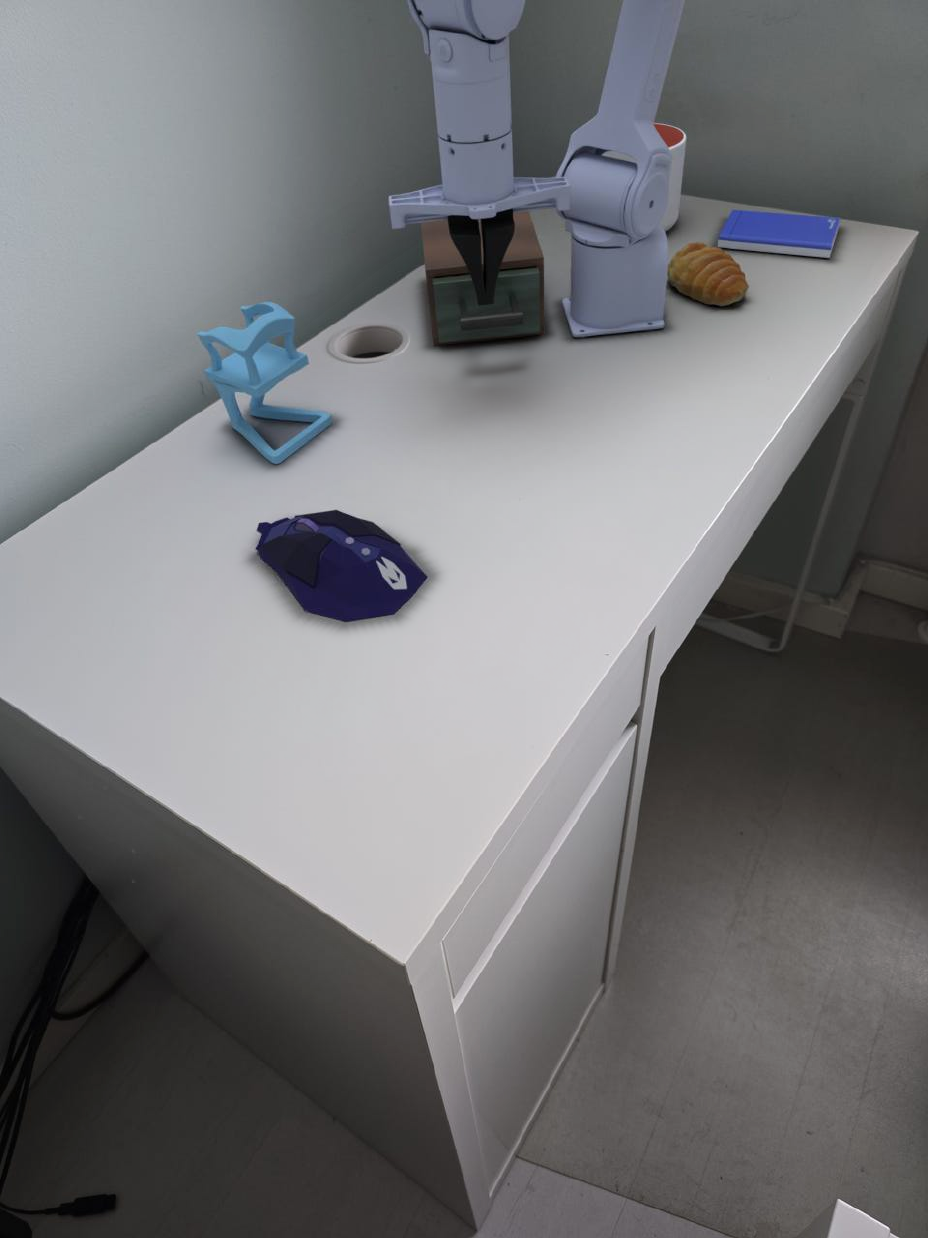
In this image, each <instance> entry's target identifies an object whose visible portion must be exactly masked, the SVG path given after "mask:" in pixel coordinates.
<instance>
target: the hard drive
mask: <svg viewBox="0 0 928 1238" xmlns="http://www.w3.org/2000/svg"><path fill="white" fill-rule="evenodd" d="M841 220H842V218H841V217H834V216H833V217H832V216H822V215H821V216H819V215H810V214H809V215H808V214H794V213H780V212H769V211H758V210H757V211H756V210H742V209H732V210H731V212H730V213H729V215H728V218H727V219H726V222H725V223H724V225H723V228H722V229H721V230H720V233H719V235H718V240H717V247H718V248H721V249H722V248H723V249H732V250H743V251H754V252H762V253H763V252H764V253H774V254H785V255H792V256H793V255H794V256H795V255H796V256H805V257H815V258H824V259H825V258H826V259H830V258H831V255H832V251H833V248H834V245H835V242H836V239H837V236H838V233H839V230H840V225H841Z"/></svg>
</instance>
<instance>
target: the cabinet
mask: <svg viewBox="0 0 928 1238" xmlns="http://www.w3.org/2000/svg"><path fill="white" fill-rule="evenodd" d="M513 219H514V222H515V231H514V235H513V238H512V240H511V242H510V244H509V246H508V248H507V251H506V253H505V255H504V258H503V261H502V264H501V267H500V270H503V269H512V268H522V267H529V268H538V270H539V274H540V332H538V333H529V334H519V335H510V336H501V337H491V338H482V339H472V340H463V341H453V342H444V343H439V337H438V328H437V318H436V308H435V298H434V289H433V278H438V276H446V275H456V274H465V273H469V271H468V269H467V266H466V264H465V262H464V260H463V258H462V257H461V255H460V253H459V251H458V249H457V248H456V246H455V245H454V243H453V241H452V238H451V236H450V232H449V226H448V220H441V221H432V222H422V223H420V229H421V239H422V249H423V262H424V270H425V280H426V289H427V299H428V308H429V316H430V317H429V318H430V327H431V336H432V345H433V347H435V346H436V347H437V346H444V345H455V344H456V345H457V344H465V343H473V342H484V341H493V340H502V339H511V338H522V337H530V336H540V335H541V336H542V335H545V257H544V254H543V251H542V248H541V244H540V242H539V238H538V235H537V232H536V229H535V226H534V225H535V224H534V223H533V220H532V216H531V213H530V211H523V212H514V213H513ZM478 222H479V230H480V235H481V255H482V272H483V244H482V231H481V219H478Z"/></svg>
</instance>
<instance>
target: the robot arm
mask: <svg viewBox="0 0 928 1238" xmlns="http://www.w3.org/2000/svg"><path fill="white" fill-rule="evenodd" d="M406 1H407V6H408V9H409V12H410V15H411V17H412V19H413V21H414V23H415V24H416V25H417V26H418V28H419V30H420V32H421V35H422V40H423V50H424V51H423V52H424V54H425V55H427V59H428V60H429V61H430V63H431V73H432V74H431V75H432V84H433V97H434V106H435V118H436V119H435V120H436V129H437V139H438V140H437V141H438V151H439V152H438V153H439V162H440V174H441V175H440V177H441V184H438V185H434V186H430V187H426V188H423V189H422V188H421V189H419V190H415V191H410V192H406V193H401V194H393V195H389V196H388V206H389V208H388V209H389V216H390V222H391V229H392V230H396V229H404V228H405V227H406V225H413V224H421V223H422V222H432V221H441V220H448V226H449V232H450V236H451V238H452V241H453V243H454V245H455V246H456V248H457V249H458V251H459V253H460V255H461V257H462V258H463V260H464V262H465V264H466V266H467V269H468V271H469V273H470V276H471V279H472V281H473V284H474V287H475V291H476V298H477V303H478V305H479V306H480V305H489V304H494V294H495V287H496V282H497V278H498V274H499V270H500V267H501V264H502V261H503V258H504V255H505V253H506V251H507V248H508V246H509V244H510V242H511V240H512V238H513V235H514V231H515V222H514V219H513V213H514V212H523V211H529V212H530V211H539V210H550V209H555V211H556V213H557V215H558V216H559V217H560V218H561V219H563V220H565V221H564V222H565V225H564V227H565V232H568V233H570V234H571V241H570V242H571V245H570V247H571V248H570V297H564V298H562V300H561V305H562V308H563V311H564V314H565V317H566V320H567V324H568V326H569V329H570V332H571V336H572V337H574V338H584V337H591V336H601V335H612V334H620V333H631V332H639V331H650V330H659V329H663V328H665V325H666V323H665V321H664V317H665V316H664V315H665V303H666V293H667V284H668V283H667V282H668V275H667V274H668V265H669V242H668V237H667V233H666V232H665V230H664V228H663V227H662V226H658V224H659V223H660V221H661V219H662V217H663V215H664V212H665V209H666V206H667V201H668V193H669V188H668V182H669V174H670V168H671V163H672V159H673V155H672V153H671V151H670V150H669V148H668V146H667V145H666V143H665V142H664V141H663V139H662V138H661V136H660V135H659V133H658V132H657V130H656V128H655V127H654V123H655V120H656V117H657V112H658V108H659V105H660V102H661V101H660V100H661V98H662V97H661V96H662V92H663V89H664V85H665V82H666V81H665V80H666V77H667V73H668V69H669V65H670V61H671V57H672V53H673V50H674V45H675V41H676V38H677V34H678V29H679V27H680V22H681V18H682V15H683V10H684V6H685V4H686V3H685V2H686V0H622V4H621V8H620V13H619V17H618V21H617V27H616V30H615V35H614V40H613V43H612V44H613V45H612V49H611V53H610V56H609V62H608V66H607V71H606V75H605V80H604V84H603V88H602V92H601V97H600V101H599V105H598V111H597V113H596V115H595V116H593V117H592V118H591V119H590V120H588V121H586V123H584V124H583V125H582V126H580V127H579V128H577V129H576V130H575V131H574V132H572V134H571V135H570V138H569V144H568V146H567V151H566V154H565V156H564V159H563V161H562V163H560V166H559V168H558V170H557V173H556V175H555V177H524V176H523V177H520V176H514V150H513V149H514V148H513V147H514V146H513V123H512V121H513V120H512V92H511V89H512V88H511V87H512V86H511V59H510V58H511V56H510V54H511V53H510V33H511V32H512V31H514V30H515V29H517V27H518V25H519V23H520V20H521V18H522V15H523V12H524V8H525V4H526V0H406ZM608 151H614V152H619V153H623V154H627V155H629V156H632V157H633V158H634V160H635V161H636V163H634V162H629V161H625V160H620V159H616V158H611V157H607V156H602V154H604V153H605V152H608ZM478 219H481V231H482V244H483V274H482V255H481V235H480V230H479V222H478Z"/></svg>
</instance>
